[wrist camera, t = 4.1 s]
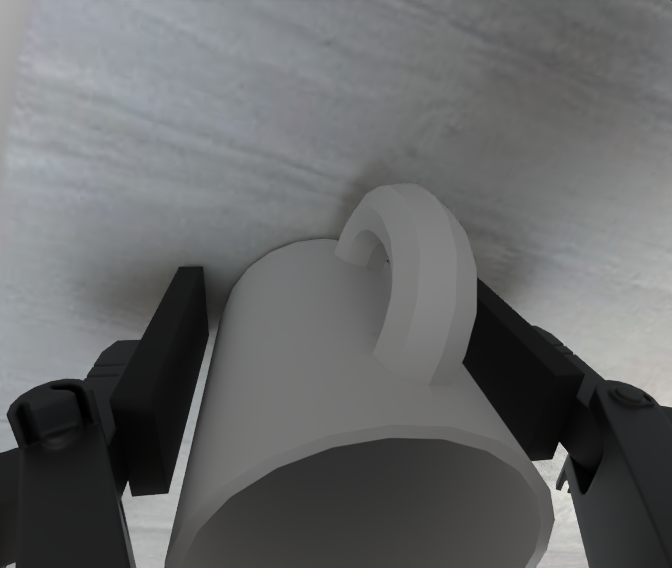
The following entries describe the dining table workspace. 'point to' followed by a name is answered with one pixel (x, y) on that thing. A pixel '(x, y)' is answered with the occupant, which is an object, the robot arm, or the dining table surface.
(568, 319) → the dining table surface
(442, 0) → the dining table surface
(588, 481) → the robot arm
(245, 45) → the dining table surface
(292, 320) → the cup
